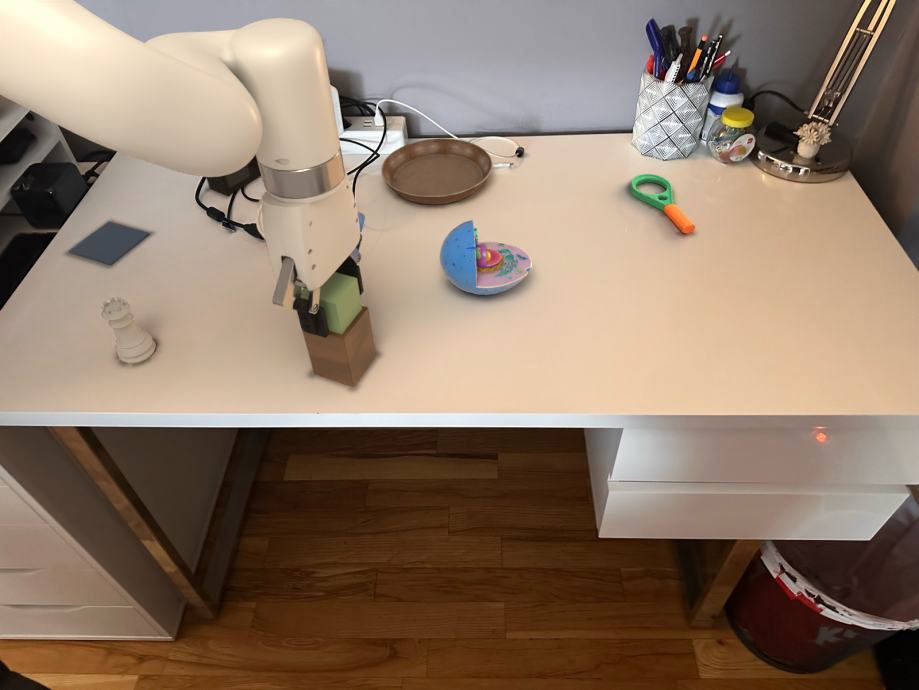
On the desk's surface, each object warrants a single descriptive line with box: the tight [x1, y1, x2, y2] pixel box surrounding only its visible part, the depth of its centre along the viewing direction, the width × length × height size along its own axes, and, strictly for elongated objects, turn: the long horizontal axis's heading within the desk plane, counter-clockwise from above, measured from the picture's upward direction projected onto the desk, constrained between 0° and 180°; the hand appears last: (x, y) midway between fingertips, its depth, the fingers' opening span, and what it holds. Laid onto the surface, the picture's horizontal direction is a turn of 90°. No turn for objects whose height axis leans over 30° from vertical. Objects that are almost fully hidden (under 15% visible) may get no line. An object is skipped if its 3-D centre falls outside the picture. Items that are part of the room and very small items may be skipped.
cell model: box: [439, 219, 533, 296], centre depth 87 cm, size 10×12×10 cm
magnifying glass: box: [630, 173, 696, 234], centre depth 101 cm, size 15×6×2 cm, turn 15°
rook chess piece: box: [100, 296, 157, 365], centre depth 80 cm, size 4×4×8 cm
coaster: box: [68, 221, 151, 266], centre depth 99 cm, size 8×8×1 cm
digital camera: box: [205, 154, 262, 197], centre depth 108 cm, size 10×5×7 cm, turn 146°
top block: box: [301, 272, 363, 334], centre depth 73 cm, size 4×4×4 cm
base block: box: [301, 305, 377, 388], centre depth 78 cm, size 6×6×8 cm
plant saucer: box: [380, 137, 493, 205], centre depth 108 cm, size 18×18×3 cm
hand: (333, 310), depth 74 cm, fingers open, 6 cm apart
